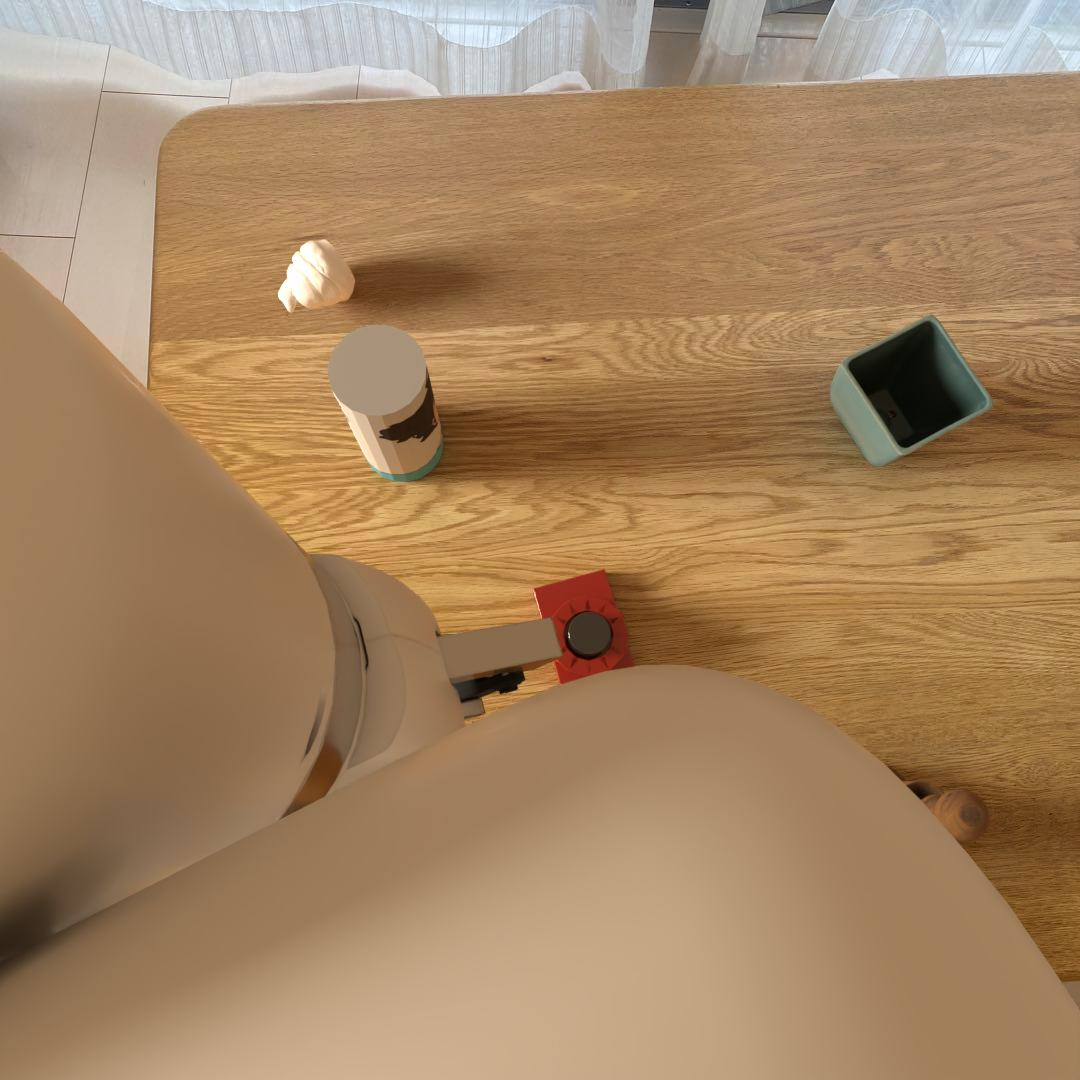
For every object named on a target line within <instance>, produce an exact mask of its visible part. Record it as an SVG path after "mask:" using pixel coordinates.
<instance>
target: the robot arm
mask: <svg viewBox="0 0 1080 1080" xmlns="http://www.w3.org/2000/svg"><path fill="white" fill-rule="evenodd" d="M562 657H563V653H562V649H561V646H560V642H559V639H558V635H557V632H556V628H555V625H554V621H553V618H544V619H541V618H540V619H538V618H537V619H533V620H527V621H521V622H515V623H509V624H504V625H503V624H502V625H498V626H492V627H487V628H480V629H475V630H474V629H473V630H469V631H468V630H467V631H463V632H457V633H444V634H443V633H442V632H441V629H440V627H439V623H438V621H437V619H436V616H435V614H434V612H433V611H432V609H431V608H430V606H429V605H428V604H427V603H426V602H425V601H424V600H423V599H422V597H421V596H420V595H419V594H417V593H416V592H415V591H414V590H412V589H411V588H410V587H409V586H408V585H406V584H405V583H404V582H403V581H402V580H399V579H398V578H396V577H395V576H393V575H390V574H388V573H386V572H385V571H382V570H381V569H378V568H376V567H374V566H371V565H368V564H366V563H363V562H360V561H357V560H353V559H350V558H347V557H343V556H341V555H338V554H333V553H308V552H307V551H306V550H305V549H304V548H303V547H302V546H301V545H300V544H299V543H298V542H297V541H296V540H295V539H294V538H293V537H292V536H291V535H290V534H289V533H288V532H287V531H286V530H285V529H284V528H283V527H282V525H281V524H280V523H279V522H278V521H277V520H276V519H275V518H274V517H273V516H272V515H271V514H270V512H268V511H267V510H266V509H265V507H263V506H262V504H260V503H259V501H257V499H255V497H254V496H252V494H250V492H248V490H246V488H245V487H244V485H242V484H241V483H240V482H239V481H238V480H237V479H236V478H235V477H234V476H233V475H232V474H231V473H230V472H229V471H228V470H227V469H226V468H225V467H224V466H223V465H222V464H221V463H220V461H218V460H217V458H216V457H215V456H214V455H212V453H211V452H209V450H208V449H206V447H204V445H203V444H201V442H200V441H199V440H198V439H197V438H196V437H195V436H194V435H193V434H192V433H191V431H189V430H188V429H187V428H186V427H185V426H184V425H183V424H182V423H181V422H180V421H179V420H178V419H177V418H176V417H175V416H174V415H173V413H172V412H170V411H169V410H168V408H167V407H165V405H164V404H163V403H162V402H160V400H159V399H158V398H157V397H156V396H155V395H154V394H153V393H152V392H151V391H150V390H149V389H148V388H147V387H146V386H145V385H144V384H143V383H142V382H141V381H140V380H139V379H138V378H137V377H136V376H135V375H134V374H133V373H132V372H131V371H130V370H129V369H128V368H127V367H126V366H125V365H124V364H123V363H122V362H121V361H120V359H118V358H117V357H116V355H115V354H113V352H112V351H111V350H110V349H109V348H108V347H107V346H106V345H105V344H104V343H103V342H102V341H101V340H100V339H99V338H98V337H97V336H96V335H95V334H94V333H93V332H92V331H91V330H90V329H89V328H88V327H87V326H86V325H85V324H84V323H83V321H81V319H79V317H77V315H76V314H74V313H73V311H71V310H70V308H68V306H67V305H66V304H65V303H64V302H63V301H61V300H60V299H59V298H58V297H56V296H55V295H54V294H53V293H52V292H51V290H49V289H48V288H47V287H46V286H45V285H43V284H42V283H41V282H39V280H37V279H36V278H35V277H34V276H33V275H31V273H29V271H27V270H26V269H25V268H24V267H23V266H22V265H20V264H19V263H18V262H16V261H15V260H14V259H13V258H12V257H11V256H10V255H8V254H7V253H6V252H5V251H4V250H3V249H2V248H0V1080H1080V1008H1079V1007H1078V1005H1077V1004H1076V1002H1075V1000H1074V998H1072V996H1071V994H1070V993H1069V992H1068V990H1067V988H1066V987H1065V985H1064V984H1063V982H1062V981H1061V979H1060V978H1059V976H1058V975H1057V973H1056V971H1055V970H1054V969H1053V967H1052V966H1051V964H1050V963H1049V961H1048V960H1047V958H1046V957H1045V956H1044V954H1043V953H1042V950H1040V948H1039V947H1038V945H1037V944H1036V942H1035V941H1034V939H1033V938H1032V936H1031V935H1030V934H1029V932H1028V931H1027V929H1026V928H1025V926H1024V925H1023V924H1022V922H1021V920H1020V919H1019V918H1018V916H1017V914H1016V913H1015V912H1014V910H1013V909H1012V907H1011V906H1010V904H1009V903H1008V901H1006V899H1005V898H1004V897H1003V896H1002V895H1001V893H1000V892H999V891H998V889H997V888H996V887H995V885H994V884H993V883H992V882H991V881H990V880H989V878H988V877H987V876H986V875H985V873H984V872H983V871H982V869H981V868H980V867H979V866H978V864H976V862H975V861H974V860H973V859H972V857H971V856H970V854H969V853H968V852H967V851H966V850H965V849H964V847H963V846H962V845H961V844H960V842H959V841H957V840H955V838H954V837H953V836H952V835H951V834H950V833H949V831H948V830H947V829H946V828H945V827H944V826H943V824H942V823H941V822H940V821H939V820H938V819H937V818H936V816H935V815H934V814H933V813H932V812H931V811H930V809H929V808H928V807H927V806H926V805H925V804H924V803H923V802H922V801H921V800H920V799H919V798H918V797H917V796H916V795H915V794H914V793H913V792H912V791H911V790H910V789H909V788H908V787H907V786H906V785H905V784H904V783H903V782H902V781H901V780H900V779H899V778H898V777H897V776H896V775H895V774H894V773H893V772H892V771H891V770H890V769H889V768H888V767H889V766H888V765H886V764H885V763H884V761H882V760H881V759H879V758H878V757H877V756H876V755H874V754H873V753H872V752H870V751H869V750H868V749H867V748H866V747H864V745H862V744H861V743H859V742H858V741H857V740H856V739H855V738H853V737H852V736H850V735H849V734H848V733H847V732H845V731H844V730H843V729H841V728H839V727H838V726H837V725H836V724H834V723H833V722H831V721H830V720H829V719H827V718H826V717H824V716H823V715H822V714H821V713H819V712H818V711H816V710H815V709H814V708H812V707H811V706H809V705H808V704H806V703H804V702H803V701H800V700H798V699H796V698H794V697H791V696H789V695H788V694H785V693H783V692H782V691H779V690H777V689H775V688H772V687H771V686H768V685H766V684H764V683H762V682H759V681H755V680H751V679H750V678H745V677H742V676H739V675H735V674H732V673H729V672H726V671H723V670H718V669H712V668H706V667H700V666H693V665H686V664H643V665H636V666H635V665H634V666H635V667H629V668H623V669H617V670H610V671H604V672H601V673H598V674H594V675H591V676H588V677H584V678H581V679H577V680H574V681H571V682H567V683H564V684H561V685H559V684H557V685H554V686H552V687H549V688H547V689H544V690H543V691H540V692H537V693H534V694H533V695H531V696H528V697H526V698H524V699H521V700H519V701H517V702H515V703H512V704H509V705H507V706H505V707H502V708H500V709H498V710H496V711H494V712H492V713H490V714H488V715H486V713H487V712H486V709H485V704H484V701H483V698H484V697H486V696H488V695H491V694H495V693H497V692H499V695H503V694H509V693H512V692H515V691H517V690H519V687H518V686H520V685H522V684H523V682H525V681H526V680H527V679H526V676H525V672H529V671H534V670H536V669H539V668H541V667H544V666H546V665H548V664H550V663H553V661H555V660H557V659H560V658H562ZM483 715H486V716H484V717H481V718H479V719H477V720H475V721H474V722H471V723H469V724H466V721H467V720H470V719H471V720H472V719H474V718H477V717H480V716H483ZM887 766H888V767H887Z"/></svg>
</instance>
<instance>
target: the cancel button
mask: <svg viewBox="0 0 1080 1080" xmlns="http://www.w3.org/2000/svg"><path fill="white" fill-rule="evenodd" d="M610 636H611V631H610V626H609V624H608V622H607V621H606V620H605V618H603V617H602V616H601V615H599V614H597V613H593V612H585V613H582V614H579V615H578V616H576V617H575V618H574V619H573V620H572V622H571V624H570V626H569V629H568V634H567V637H568V642H569V645H570V647H571V648H572V649H573V650H574V651H575V652H576V653H577V654H579V655H582V656H586V657H590V656H595V655H597V654H599V653H601V652H602V651H603V650H604V649H605V647H606V646H607V644H608V643H609V640H610Z"/></svg>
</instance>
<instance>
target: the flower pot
mask: <svg viewBox="0 0 1080 1080" xmlns="http://www.w3.org/2000/svg"><path fill="white" fill-rule="evenodd" d="M828 394H829V401H830V404H831V407H832V409H833V410H834V413H835V414H836V416H837V417H838V419H839V421H840V422H841V424H842V425H843V426H844V428H845V429H846V431H847V433H849V436H850V437H851V439H852V440H853V442H854V443H855V445H856V447H857V448H858V450H859V451H860V453H861V454H862V456H863V458H864V459H865V460H866V461H867V463H869V464H870V465H871V466H873V467H875V468H876V467H877V468H883V467H886V466H887V467H888V466H889V465H891V464H893V463H895V462H896V461H898V460H900V459H902V458H904V457H906V456H908V455H910V454H912V453H914V452H915V451H917V450H919V449H920V448H923V447H924V446H927V445H928V444H930V443H932V442H934V441H936V440H937V439H939V438H941V437H943V436H945V435H947V434H948V433H951V432H952V431H954V430H956V429H958V428H960V427H962V426H964V425H966V424H967V423H970V422H971V421H973V420H975V419H977V418H979V417H981V416H983V415H985V414H986V413H988V412H989V411H992V410H993V409H994V407H995V406H996V405H995V401H994V399H993V397H992V395H991V394H990V393H989V391H988V390H987V388H986V387H985V385H984V384H983V382H982V381H981V380H980V379H979V377H978V376H977V374H976V373H975V372H974V370H973V369H972V368H971V366H970V364H969V363H968V362H967V360H966V359H965V357H964V356H963V354H962V353H961V351H960V350H959V348H958V347H957V345H956V344H955V342H954V341H953V339H952V338H951V336H950V335H949V333H948V331H946V329H945V327H944V326H943V324H942V323H941V322H940V320H939V319H938V318H937V317H936V316H935V315H934V314H932V313H931V314H927V315H924V316H923V317H921V318H919V319H917V320H915V321H914V322H912V323H910V324H908V325H906V326H904V327H902V328H901V329H898V330H897V331H895V332H893V333H891V334H889V335H887V336H885V337H883V338H882V339H880V340H878V341H876V342H873V343H872V344H870V345H868V346H866V347H864V348H862V349H860V350H858V351H856V352H854V353H852V354H849V355H848V356H846V357H844V358H843V359H842V360H841V361H840V362H839V365H838V367H837V370H836V372H835V374H834V376H833V379H832V381H831V384H830V387H829V393H828ZM890 413H894V417H893V416H891V415H890Z"/></svg>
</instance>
